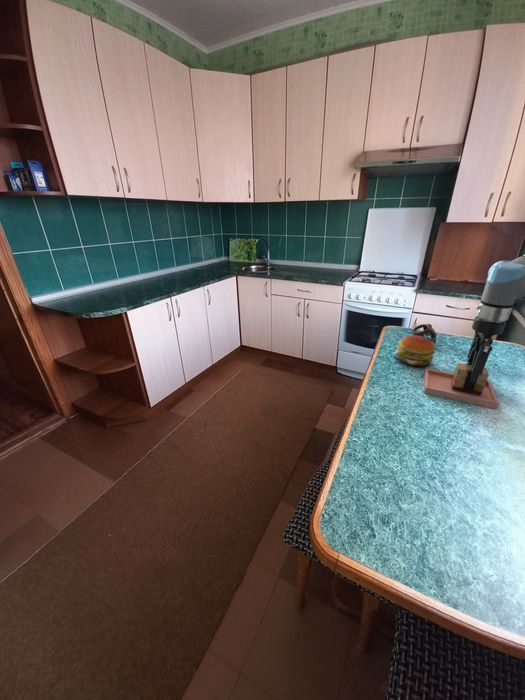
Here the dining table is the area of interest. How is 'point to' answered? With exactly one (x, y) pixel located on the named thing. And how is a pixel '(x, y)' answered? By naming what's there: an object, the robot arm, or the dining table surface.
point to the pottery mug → (425, 331)
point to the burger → (415, 350)
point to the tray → (441, 387)
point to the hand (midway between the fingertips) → (466, 384)
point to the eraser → (461, 376)
